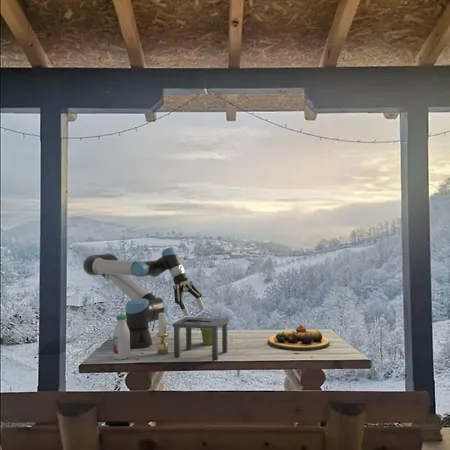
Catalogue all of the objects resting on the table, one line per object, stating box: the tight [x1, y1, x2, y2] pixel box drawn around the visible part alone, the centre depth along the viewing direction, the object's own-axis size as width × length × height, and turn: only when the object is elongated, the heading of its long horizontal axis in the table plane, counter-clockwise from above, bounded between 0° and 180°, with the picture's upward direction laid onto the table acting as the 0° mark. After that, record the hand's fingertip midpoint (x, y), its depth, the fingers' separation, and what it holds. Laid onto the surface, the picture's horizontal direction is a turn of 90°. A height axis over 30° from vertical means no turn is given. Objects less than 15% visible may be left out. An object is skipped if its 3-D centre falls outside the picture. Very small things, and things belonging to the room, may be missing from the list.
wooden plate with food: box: [267, 324, 330, 351], centre depth 258 cm, size 32×32×8 cm
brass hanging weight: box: [156, 313, 169, 356], centre depth 240 cm, size 6×6×20 cm
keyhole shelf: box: [172, 316, 230, 361], centre depth 237 cm, size 22×18×16 cm
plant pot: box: [199, 328, 212, 346], centre depth 259 cm, size 9×9×9 cm
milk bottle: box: [112, 314, 131, 361], centre depth 232 cm, size 8×8×20 cm
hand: (195, 312), depth 255 cm, fingers open, 13 cm apart
